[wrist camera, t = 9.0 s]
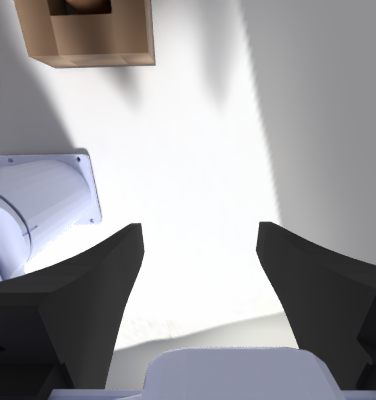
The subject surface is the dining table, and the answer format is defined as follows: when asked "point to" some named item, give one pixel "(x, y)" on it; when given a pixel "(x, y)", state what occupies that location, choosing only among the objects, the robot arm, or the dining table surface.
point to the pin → (91, 6)
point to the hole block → (87, 34)
